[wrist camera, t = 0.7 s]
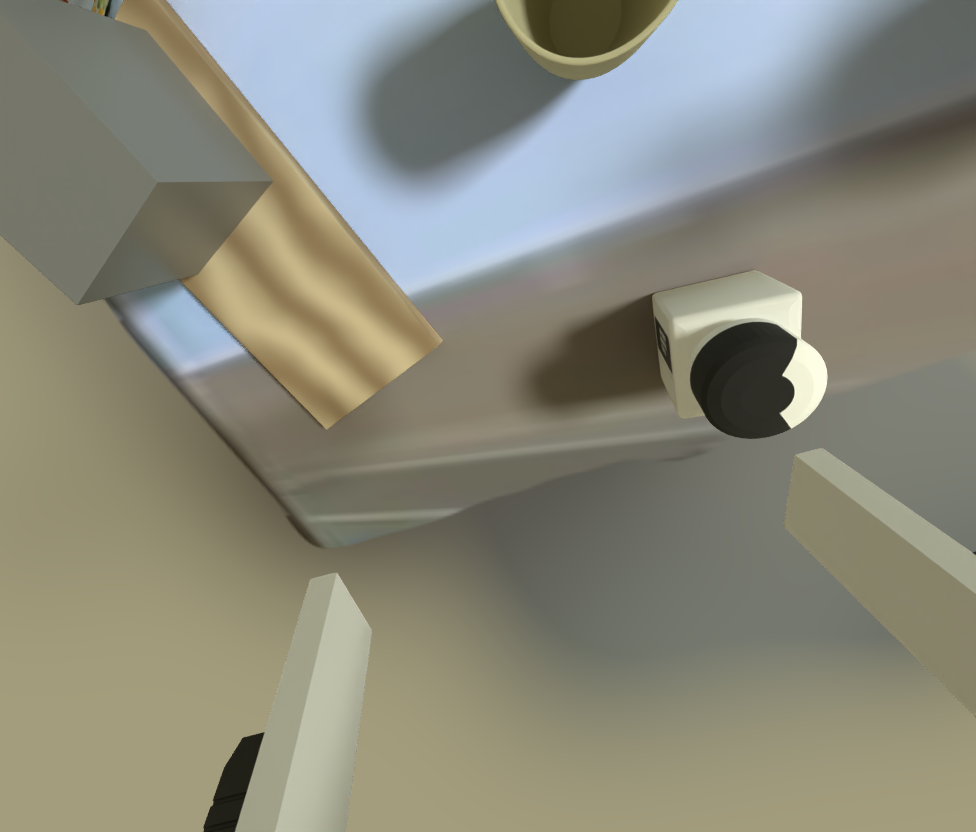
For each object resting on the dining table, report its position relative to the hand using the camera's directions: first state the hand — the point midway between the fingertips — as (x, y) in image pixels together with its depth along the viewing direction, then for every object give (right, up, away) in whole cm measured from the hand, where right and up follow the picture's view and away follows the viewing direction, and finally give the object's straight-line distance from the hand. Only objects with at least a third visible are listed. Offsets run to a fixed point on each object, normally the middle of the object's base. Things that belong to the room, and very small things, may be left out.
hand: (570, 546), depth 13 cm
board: (-23, +19, +26) cm, 39 cm away
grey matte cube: (-28, +24, +23) cm, 43 cm away
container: (+15, +11, +23) cm, 30 cm away
